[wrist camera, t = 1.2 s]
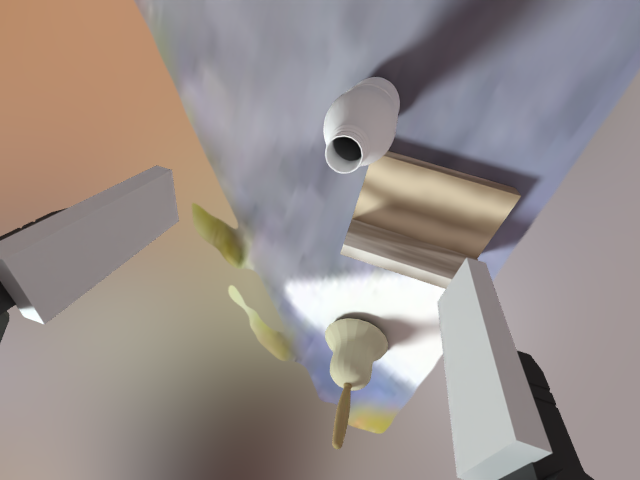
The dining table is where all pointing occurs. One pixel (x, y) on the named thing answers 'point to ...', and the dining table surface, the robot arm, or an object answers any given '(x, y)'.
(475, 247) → the board
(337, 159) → the water bottle
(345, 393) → the handbell
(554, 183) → the dining table surface
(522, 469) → the robot arm
